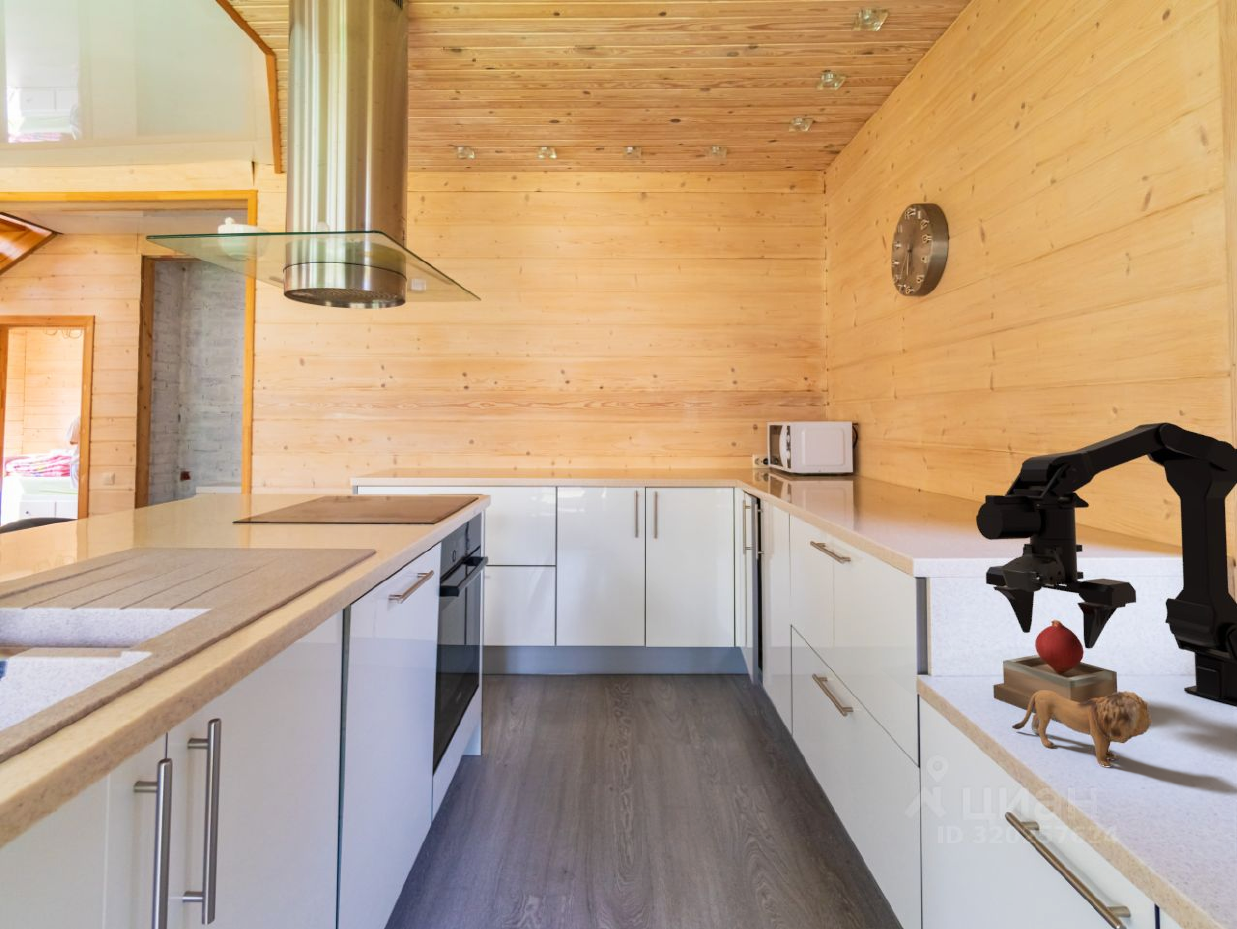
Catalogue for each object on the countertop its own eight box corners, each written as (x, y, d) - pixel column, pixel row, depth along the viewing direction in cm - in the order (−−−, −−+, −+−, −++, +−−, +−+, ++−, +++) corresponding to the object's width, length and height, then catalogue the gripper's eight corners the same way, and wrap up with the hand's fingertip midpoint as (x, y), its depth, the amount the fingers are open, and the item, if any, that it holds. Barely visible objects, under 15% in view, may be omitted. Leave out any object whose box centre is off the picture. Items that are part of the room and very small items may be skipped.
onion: (1054, 664, 93) (1052, 614, 93) (1094, 676, 87) (1091, 622, 87) (1027, 669, 91) (1025, 617, 91) (1066, 681, 85) (1063, 626, 86)
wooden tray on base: (1046, 686, 97) (1045, 650, 97) (1130, 714, 85) (1128, 673, 85) (993, 697, 93) (992, 659, 93) (1074, 728, 81) (1072, 684, 81)
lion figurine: (1158, 766, 71) (1155, 691, 71) (1146, 781, 67) (1143, 703, 68) (1019, 726, 82) (1016, 662, 83) (1003, 737, 79) (1001, 670, 79)
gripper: (959, 535, 96) (962, 630, 95) (1082, 547, 78) (1086, 665, 78) (1008, 531, 99) (1011, 623, 99) (1136, 542, 82) (1140, 654, 81)
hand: (1056, 640), depth 89 cm, fingers open, 9 cm apart
